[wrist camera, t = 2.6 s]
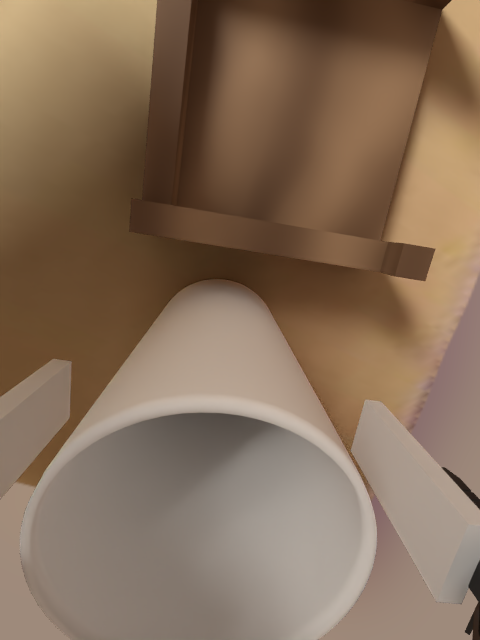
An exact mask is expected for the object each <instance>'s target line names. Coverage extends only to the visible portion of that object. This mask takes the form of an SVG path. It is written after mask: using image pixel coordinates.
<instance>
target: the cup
mask: <svg viewBox="0 0 480 640" xmlns="http://www.w3.org/2000/svg"><path fill="white" fill-rule="evenodd" d="M376 547H377V526H376V519H375V514H374V510H373V507H372V503H371V500H370V498H369V495H368V492H367V490H366V487H365V485H364V483H363V480H362V478H361V476H360V474H359V472H358V470H357V468H356V466H355V465H354V463H353V461H352V459H351V457H350V455H349V454H348V452H347V450H346V448H345V446H344V444H343V443H342V441H341V439H340V437H339V435H338V434H337V432H336V430H335V428H334V426H333V424H332V423H331V421H330V419H329V417H328V415H327V413H326V412H325V410H324V408H323V406H322V404H321V403H320V401H319V399H318V397H317V395H316V394H315V392H314V390H313V388H312V386H311V384H310V383H309V381H308V379H307V377H306V375H305V374H304V372H303V370H302V368H301V366H300V365H299V363H298V361H297V359H296V357H295V356H294V354H293V352H292V350H291V348H290V346H289V345H288V343H287V341H286V339H285V337H284V336H283V334H282V332H281V330H280V328H279V327H278V325H277V323H276V321H275V319H274V318H273V316H272V314H271V312H270V310H269V309H268V307H267V305H266V304H265V302H264V301H263V300H262V299H261V298H260V297H259V296H258V295H257V294H256V293H255V292H254V291H252V290H251V289H249V288H248V287H246V286H244V285H242V284H240V283H237V282H234V281H230V280H224V279H209V280H203V281H199V282H196V283H193V284H191V285H189V286H187V287H185V288H184V289H182V290H181V291H179V292H178V293H177V294H176V295H175V296H174V297H173V298H172V299H171V300H170V301H169V302H168V304H167V305H166V307H165V308H164V309H163V311H162V312H161V313H160V315H159V316H158V317H157V319H156V320H155V321H154V323H153V324H152V325H151V327H150V328H149V330H148V331H147V332H146V334H145V335H144V336H143V338H142V339H141V340H140V342H139V343H138V344H137V346H136V347H135V349H134V350H133V351H132V353H131V354H130V355H129V357H128V358H127V359H126V361H125V362H124V363H123V365H122V366H121V367H120V369H119V370H118V372H117V373H116V374H115V376H114V377H113V378H112V380H111V381H110V382H109V384H108V385H107V386H106V388H105V389H104V391H103V392H102V393H101V395H100V396H99V397H98V399H97V400H96V401H95V403H94V404H93V405H92V407H91V408H90V410H89V411H88V412H87V414H86V415H85V416H84V418H83V419H82V420H81V422H80V423H79V425H78V426H77V427H76V429H75V430H74V431H73V433H72V434H71V436H70V437H69V438H68V440H67V441H66V442H65V444H64V445H63V446H62V448H61V449H60V451H59V452H58V453H57V455H56V456H55V457H54V459H53V460H52V462H51V463H50V464H49V466H48V467H47V469H46V470H45V472H44V474H43V475H42V477H41V479H40V481H39V483H38V484H37V486H36V488H35V490H34V492H33V494H32V495H31V497H30V500H29V502H28V505H27V507H26V510H25V513H24V517H23V521H22V525H21V532H20V557H21V563H22V569H23V572H24V576H25V579H26V582H27V584H28V587H29V589H30V591H31V594H32V595H33V597H34V599H35V600H36V602H37V604H38V606H39V607H40V608H41V610H42V611H43V612H44V614H45V615H46V616H47V617H48V618H49V620H50V621H51V622H52V623H53V624H54V625H55V626H56V627H57V628H58V629H59V630H60V631H61V632H62V633H64V634H65V635H66V636H67V637H69V638H70V639H71V640H319V639H320V638H322V637H323V636H324V635H326V634H327V633H328V632H329V631H330V630H332V629H333V628H334V627H335V626H336V625H337V624H338V623H339V622H340V621H341V620H342V619H343V618H344V617H345V616H346V615H347V614H348V612H349V611H350V610H351V608H352V607H353V606H354V604H355V603H356V602H357V600H358V598H359V597H360V595H361V594H362V592H363V590H364V588H365V586H366V584H367V582H368V580H369V577H370V574H371V571H372V568H373V565H374V560H375V556H376Z"/></svg>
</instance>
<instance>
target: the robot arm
mask: <svg viewBox="0 0 480 640" xmlns="http://www.w3.org/2000/svg"><path fill="white" fill-rule="evenodd" d="M71 363H72V361H67V360H59V359H52V360H51V361H49V362H48V363H47V364H45V365H44V366H42V367H41V368H40V369H38V370H37V371H36V372H34V373H33V374H31V375H30V376H29V377H27V378H26V379H24V380H23V381H22V382H20V383H19V384H18V385H16V386H15V387H13V388H12V389H11V390H9V391H8V392H7V393H5V394H4V395H2V396H1V397H0V499H1V498H2V497H3V496H4V495H5V493H6V492H7V491H8V490H9V489H10V488H11V486H12V485H13V484H14V483H15V482H16V481H17V479H18V478H19V477H20V476H21V475H22V473H23V472H24V471H25V470H26V469H27V468H28V466H29V465H30V464H31V463H32V462H33V461H34V459H35V458H36V457H37V456H38V455H39V453H40V452H41V451H42V450H43V449H44V448H45V446H46V445H47V444H48V443H49V442H50V441H51V439H52V438H53V437H54V436H55V435H56V433H57V432H58V431H59V430H60V429H61V428H62V426H63V425H64V424H65V423H66V422H67V421H68V419H69V418H70V395H71ZM351 452H352V454H353V456H354V458H355V459H356V461H357V463H358V465H359V466H360V468H361V470H362V472H363V474H364V475H365V477H366V479H367V481H368V482H369V484H370V486H371V488H372V490H373V491H374V493H375V495H376V497H377V498H378V500H379V502H380V504H381V505H382V507H383V509H384V511H385V513H386V514H387V516H388V518H389V519H390V521H391V523H392V525H393V527H394V528H395V530H396V532H397V534H398V536H399V537H400V539H401V541H402V543H403V544H404V546H405V548H406V550H407V551H408V553H409V555H410V557H411V559H412V560H413V562H414V564H415V566H416V567H417V569H418V571H419V573H420V575H421V576H422V578H423V580H424V581H425V583H426V585H427V587H428V588H429V590H430V592H431V594H432V596H433V598H434V599H435V601H436V602H440V603H441V602H442V603H453V604H462V602H463V599H464V597H465V595H466V593H467V590H468V588H470V590H471V591H472V593H473V594H474V596H475V597H476V599H477V600H478V604H477V606H476V608H475V611H474V613H473V615H472V617H471V619H470V622H469V624H468V626H467V628H466V630H465V632H466V633H467V634H469V635H470V633H471V631H472V630H473V640H480V499H479V498H478V497H477V496H476V495H475V494H474V493H472V492H471V490H470V489H469V488H468V487H467V486H466V485H465V484H464V482H463V481H462V480H461V479H460V478H458V477H457V476H456V475H454V474H453V473H452V472H450V471H449V470H447V469H446V468H444V467H440V466H439V465H438V463H437V462H436V461H435V460H434V459H433V458H432V457H431V456H430V455H429V453H428V452H427V451H426V450H425V449H424V448H423V447H422V446H421V445H420V444H419V443H418V441H417V440H416V439H415V438H414V437H413V436H412V435H411V434H410V433H409V432H408V430H407V429H406V428H405V427H404V426H403V425H402V424H401V423H400V422H399V421H398V419H397V418H396V417H395V416H394V415H393V414H392V413H391V412H390V411H389V410H388V408H387V407H386V406H385V405H384V404H383V403H382V402H381V401H373V400H366V399H365V402H364V406H363V409H362V413H361V416H360V420H359V423H358V427H357V430H356V434H355V437H354V441H353V444H352V448H351Z"/></svg>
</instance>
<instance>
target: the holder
mask: <svg viewBox="0 0 480 640" xmlns="http://www.w3.org/2000/svg"><path fill="white" fill-rule="evenodd" d="M450 1H451V0H157V13H156V26H155V39H154V52H153V65H152V78H151V91H150V104H149V117H148V130H147V144H146V157H145V170H144V183H143V196H142V200H139V199H133V198H132V200H131V214H130V229H129V232H135V233H141V234H147V235H153V236H160V237H166V238H172V239H178V240H184V241H191V242H197V243H203V244H209V245H215V246H222V247H228V248H234V249H240V250H246V251H252V252H259V253H265V254H271V255H277V256H283V257H290V258H296V259H302V260H308V261H314V262H321V263H327V264H333V265H339V266H345V267H352V268H358V269H364V270H370V271H376V272H381V273H385V274H388V275H392V276H396V277H402V278H408V279H414V280H421V281H425V280H426V277H427V274H428V271H429V267H430V264H431V261H432V258H433V255H434V251H435V249H433V248H428V247H422V246H416V245H410V244H404V243H393V242H385V241H380V240H381V237H382V233H383V229H384V225H385V222H386V218H387V214H388V210H389V207H390V203H391V199H392V195H393V192H394V188H395V184H396V181H397V177H398V173H399V169H400V166H401V162H402V158H403V154H404V151H405V147H406V143H407V139H408V136H409V132H410V128H411V124H412V121H413V117H414V113H415V109H416V106H417V102H418V98H419V95H420V91H421V87H422V83H423V80H424V76H425V72H426V68H427V65H428V61H429V57H430V53H431V50H432V46H433V42H434V38H435V35H436V31H437V27H438V23H439V20H440V16H441V12H442V9H443V8H444V7H445V6H446V5H447V4H448V3H449V2H450Z"/></svg>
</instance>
